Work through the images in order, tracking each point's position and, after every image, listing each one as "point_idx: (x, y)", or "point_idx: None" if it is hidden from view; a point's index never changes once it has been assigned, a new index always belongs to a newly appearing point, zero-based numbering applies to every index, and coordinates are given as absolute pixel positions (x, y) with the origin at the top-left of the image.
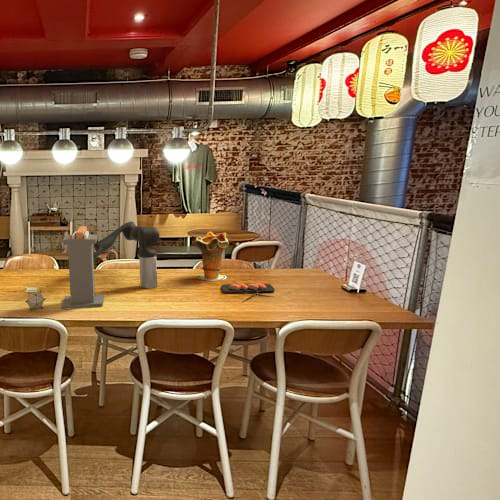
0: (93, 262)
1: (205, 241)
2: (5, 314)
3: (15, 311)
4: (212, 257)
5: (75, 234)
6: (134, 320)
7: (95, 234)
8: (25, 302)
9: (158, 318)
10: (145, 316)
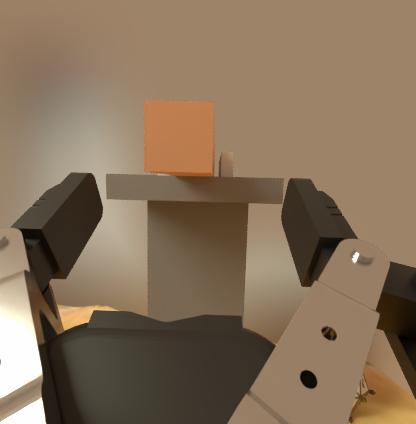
0: (148, 302)
1: None
2: (388, 378)
3: (381, 394)
4: None
5: (219, 164)
6: (110, 308)
7: (117, 174)
8: (371, 392)
9: (68, 307)
10: (82, 316)
